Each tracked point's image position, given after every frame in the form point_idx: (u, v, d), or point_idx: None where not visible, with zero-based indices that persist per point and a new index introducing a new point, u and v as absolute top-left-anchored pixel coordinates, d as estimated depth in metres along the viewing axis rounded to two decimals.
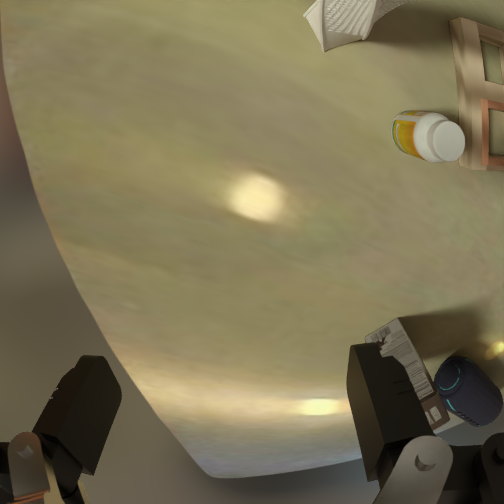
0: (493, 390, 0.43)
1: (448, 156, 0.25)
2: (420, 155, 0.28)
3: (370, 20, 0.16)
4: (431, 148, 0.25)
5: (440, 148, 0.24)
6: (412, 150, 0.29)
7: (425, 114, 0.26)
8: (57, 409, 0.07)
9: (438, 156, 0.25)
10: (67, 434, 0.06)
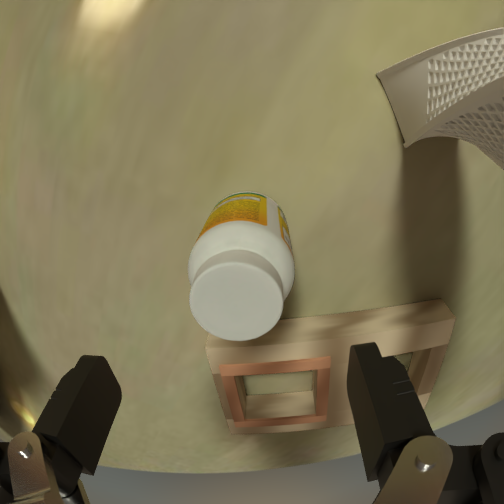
0: None
1: (201, 305, 0.13)
2: (196, 241, 0.15)
3: None
4: (210, 261, 0.13)
5: (213, 282, 0.13)
6: (206, 225, 0.16)
7: (287, 246, 0.15)
8: (57, 409, 0.07)
9: (195, 279, 0.13)
10: (67, 434, 0.06)
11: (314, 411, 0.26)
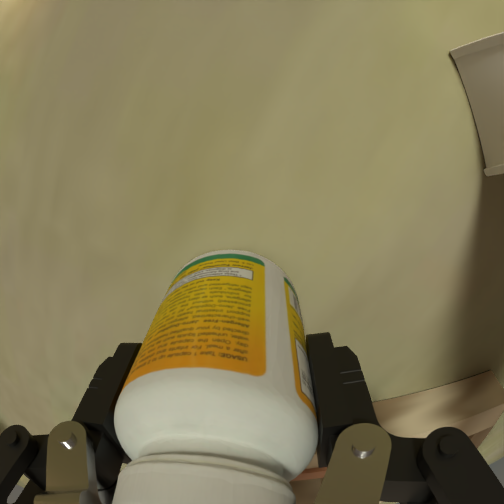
0: None
1: None
2: (123, 390, 0.07)
3: None
4: (138, 478, 0.04)
5: None
6: (145, 347, 0.08)
7: (307, 409, 0.07)
8: (100, 397, 0.07)
9: (114, 500, 0.04)
10: (112, 422, 0.07)
11: None
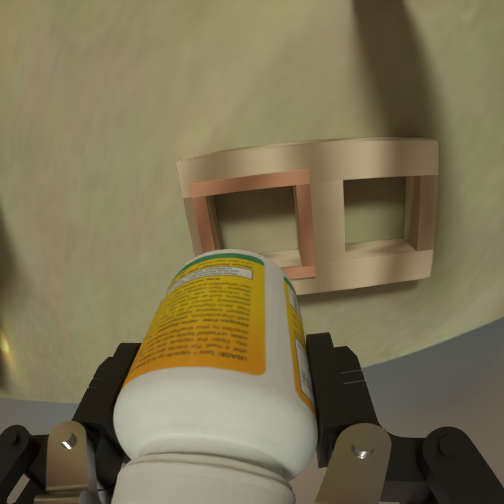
0: None
1: None
2: (122, 389, 0.07)
3: None
4: (137, 478, 0.04)
5: None
6: (145, 346, 0.08)
7: (306, 408, 0.07)
8: (100, 397, 0.07)
9: (113, 500, 0.04)
10: (112, 422, 0.07)
11: (300, 262, 0.25)
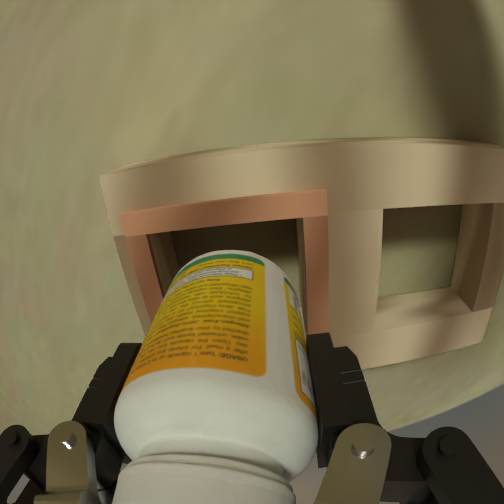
0: None
1: None
2: (123, 390, 0.07)
3: None
4: (138, 478, 0.04)
5: None
6: (145, 347, 0.08)
7: (307, 409, 0.07)
8: (100, 397, 0.07)
9: (114, 501, 0.04)
10: (112, 422, 0.07)
11: None
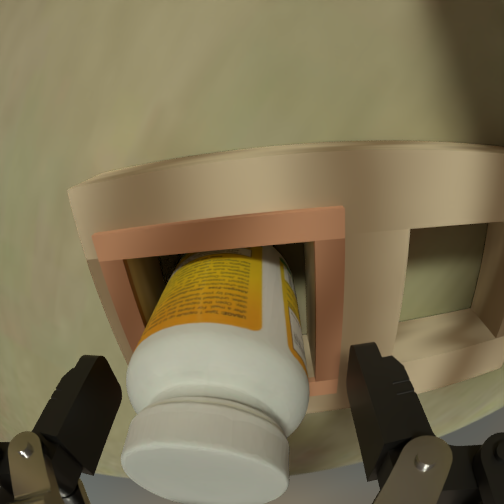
0: None
1: (144, 477, 0.06)
2: (136, 349, 0.08)
3: None
4: (149, 419, 0.06)
5: (156, 461, 0.05)
6: (156, 312, 0.09)
7: (298, 364, 0.08)
8: (57, 409, 0.07)
9: (125, 445, 0.06)
10: (67, 434, 0.06)
11: (312, 371, 0.13)
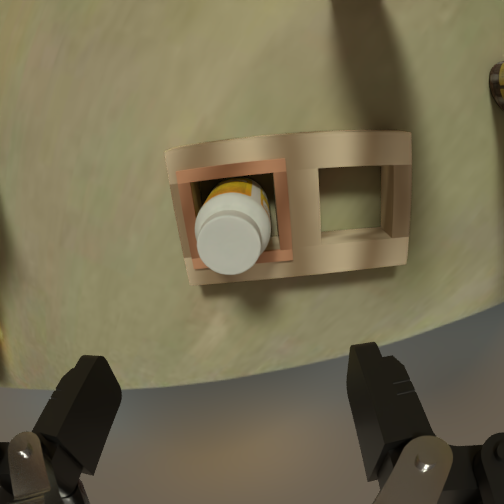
0: None
1: (205, 247, 0.20)
2: None
3: None
4: (211, 216, 0.19)
5: (213, 230, 0.19)
6: (208, 198, 0.23)
7: (265, 210, 0.22)
8: (57, 409, 0.07)
9: (201, 229, 0.19)
10: (67, 434, 0.06)
11: (278, 246, 0.27)
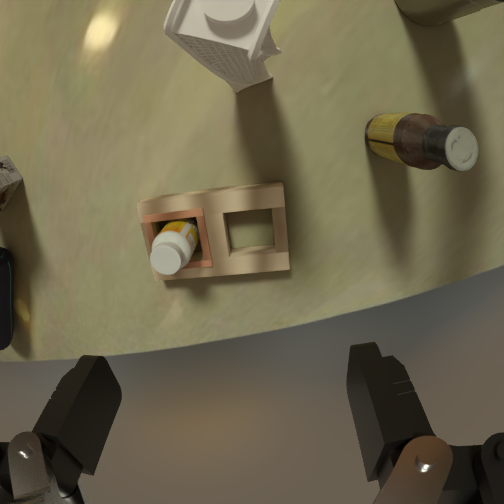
0: (0, 319, 0.47)
1: (154, 260, 0.38)
2: None
3: None
4: (157, 245, 0.38)
5: (157, 252, 0.37)
6: None
7: (187, 240, 0.40)
8: (57, 409, 0.07)
9: None
10: (67, 434, 0.06)
11: (204, 258, 0.45)
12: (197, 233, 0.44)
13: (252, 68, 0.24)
